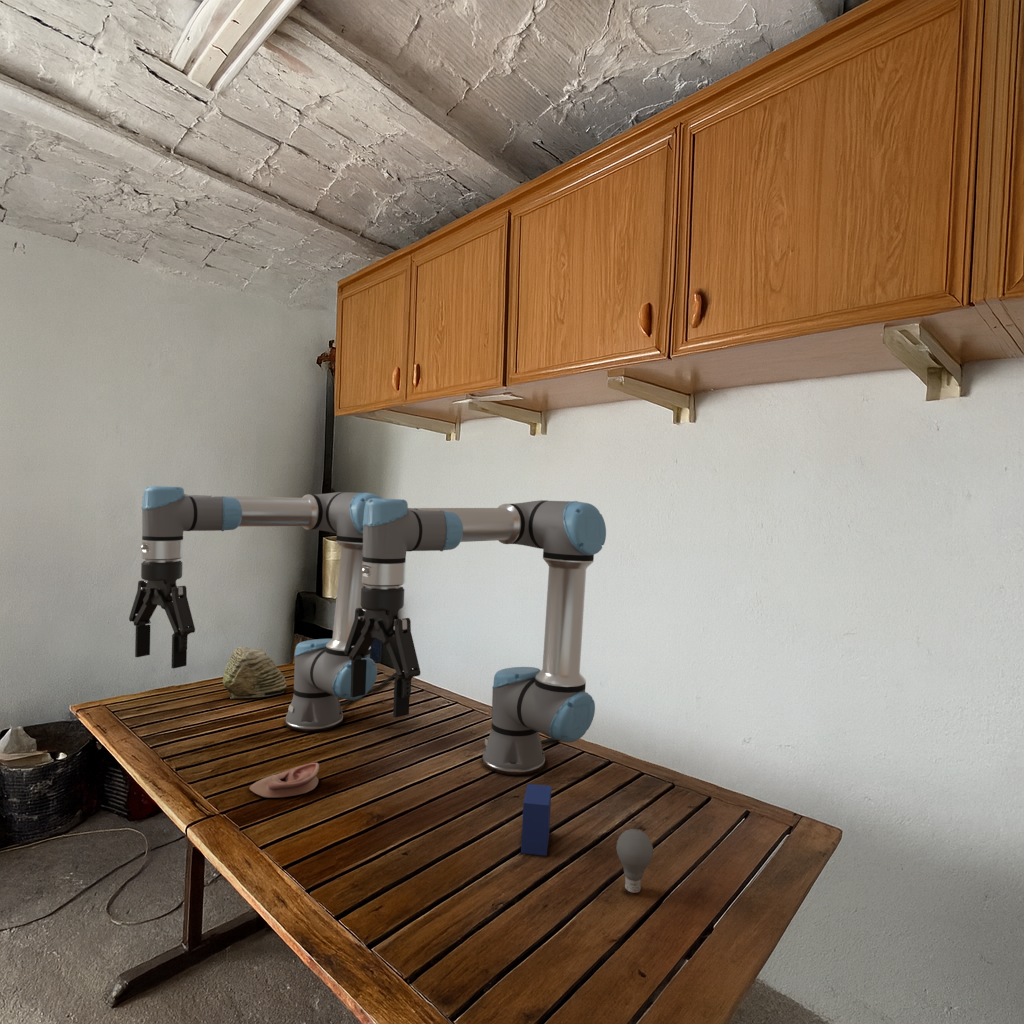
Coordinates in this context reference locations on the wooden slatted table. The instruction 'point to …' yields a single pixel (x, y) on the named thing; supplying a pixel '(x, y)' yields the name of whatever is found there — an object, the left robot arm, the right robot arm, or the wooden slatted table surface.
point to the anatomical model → (288, 782)
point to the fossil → (252, 674)
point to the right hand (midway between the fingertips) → (378, 705)
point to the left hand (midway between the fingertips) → (160, 661)
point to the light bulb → (634, 857)
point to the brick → (536, 819)
